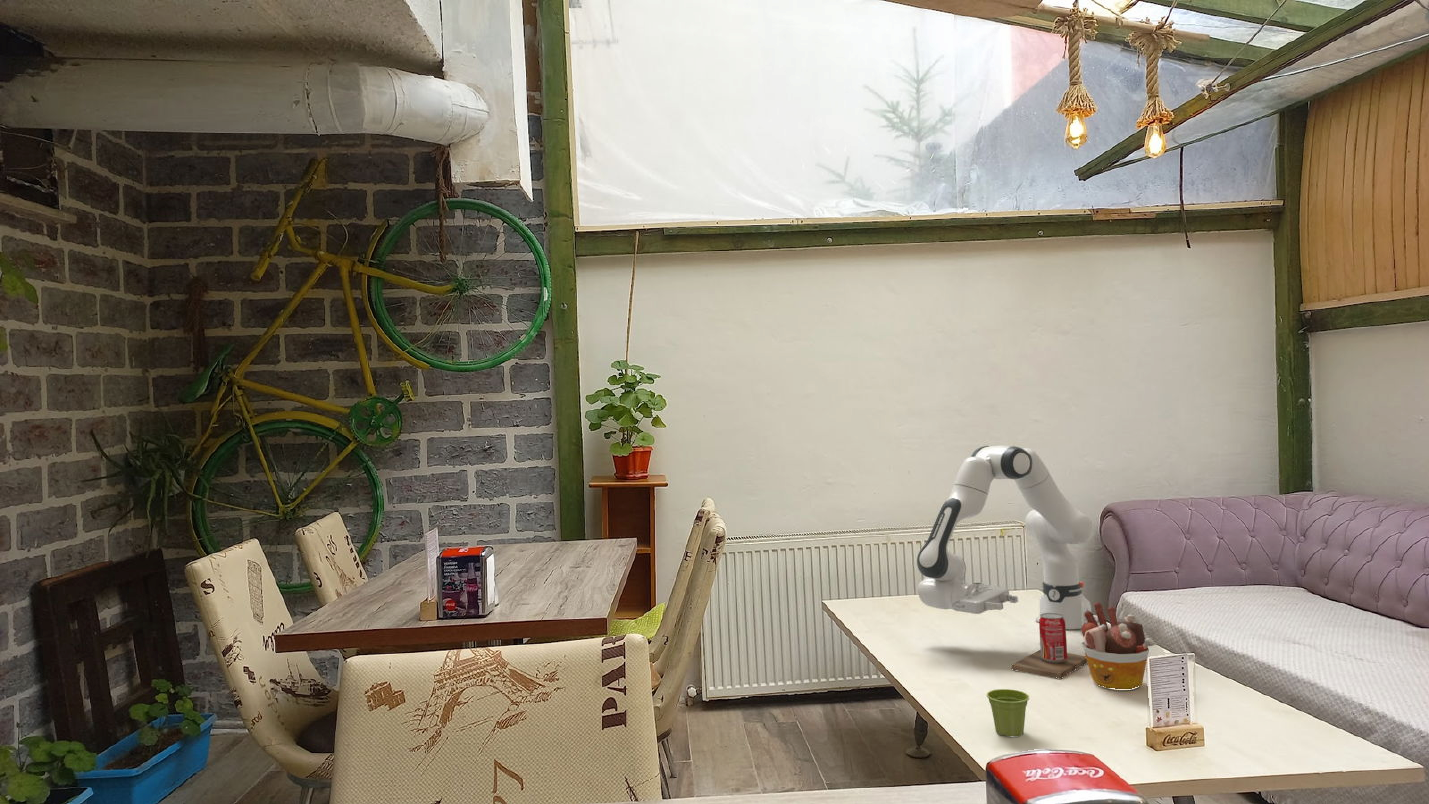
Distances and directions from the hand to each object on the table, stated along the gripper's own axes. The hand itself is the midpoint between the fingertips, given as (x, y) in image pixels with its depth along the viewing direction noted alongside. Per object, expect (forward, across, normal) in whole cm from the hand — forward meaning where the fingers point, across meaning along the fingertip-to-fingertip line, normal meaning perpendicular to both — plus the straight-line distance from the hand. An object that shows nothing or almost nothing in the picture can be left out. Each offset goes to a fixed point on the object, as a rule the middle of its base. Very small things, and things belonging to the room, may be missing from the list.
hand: (1009, 603), depth 257 cm
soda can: (+12, 0, +15) cm, 20 cm away
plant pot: (+26, -55, +15) cm, 63 cm away
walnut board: (+12, -1, +16) cm, 20 cm away
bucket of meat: (+32, -6, +17) cm, 36 cm away
